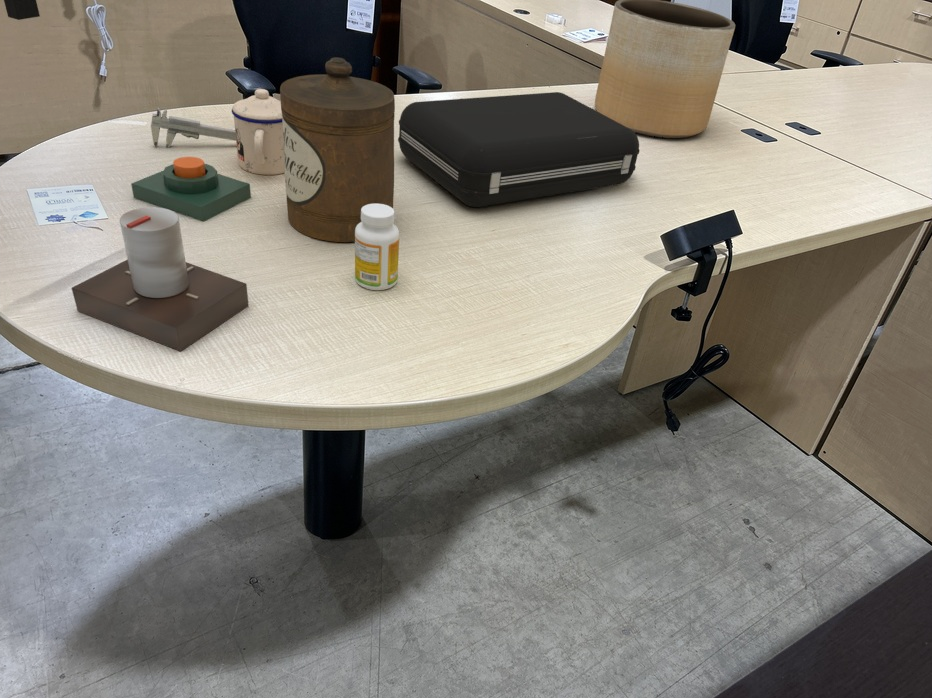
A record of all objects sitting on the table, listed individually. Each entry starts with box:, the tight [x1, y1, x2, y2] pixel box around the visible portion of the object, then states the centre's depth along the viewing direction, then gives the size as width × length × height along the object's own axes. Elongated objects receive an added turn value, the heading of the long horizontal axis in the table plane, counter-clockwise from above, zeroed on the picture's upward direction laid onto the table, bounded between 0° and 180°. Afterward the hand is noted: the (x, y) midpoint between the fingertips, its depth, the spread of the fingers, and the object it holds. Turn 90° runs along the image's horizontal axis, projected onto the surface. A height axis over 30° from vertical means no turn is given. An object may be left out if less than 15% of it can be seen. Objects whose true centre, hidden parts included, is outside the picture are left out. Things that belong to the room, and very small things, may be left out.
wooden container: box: [279, 56, 396, 243], centre depth 99 cm, size 15×15×22 cm
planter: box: [594, 0, 736, 139], centre depth 157 cm, size 25×25×22 cm
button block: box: [130, 163, 252, 222], centre depth 104 cm, size 12×10×4 cm
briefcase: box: [397, 91, 640, 208], centre depth 128 cm, size 36×32×10 cm
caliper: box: [150, 107, 236, 149], centre depth 119 cm, size 20×1×6 cm, turn 111°
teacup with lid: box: [231, 88, 285, 176], centre depth 113 cm, size 12×9×12 cm
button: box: [172, 156, 206, 178], centre depth 103 cm, size 4×4×2 cm
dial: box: [119, 206, 189, 298], centre depth 79 cm, size 6×6×8 cm
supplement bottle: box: [354, 204, 400, 291], centre depth 91 cm, size 5×5×10 cm
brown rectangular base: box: [71, 258, 249, 352], centre depth 82 cm, size 14×11×3 cm
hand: (24, 16), depth 82 cm, fingers closed
